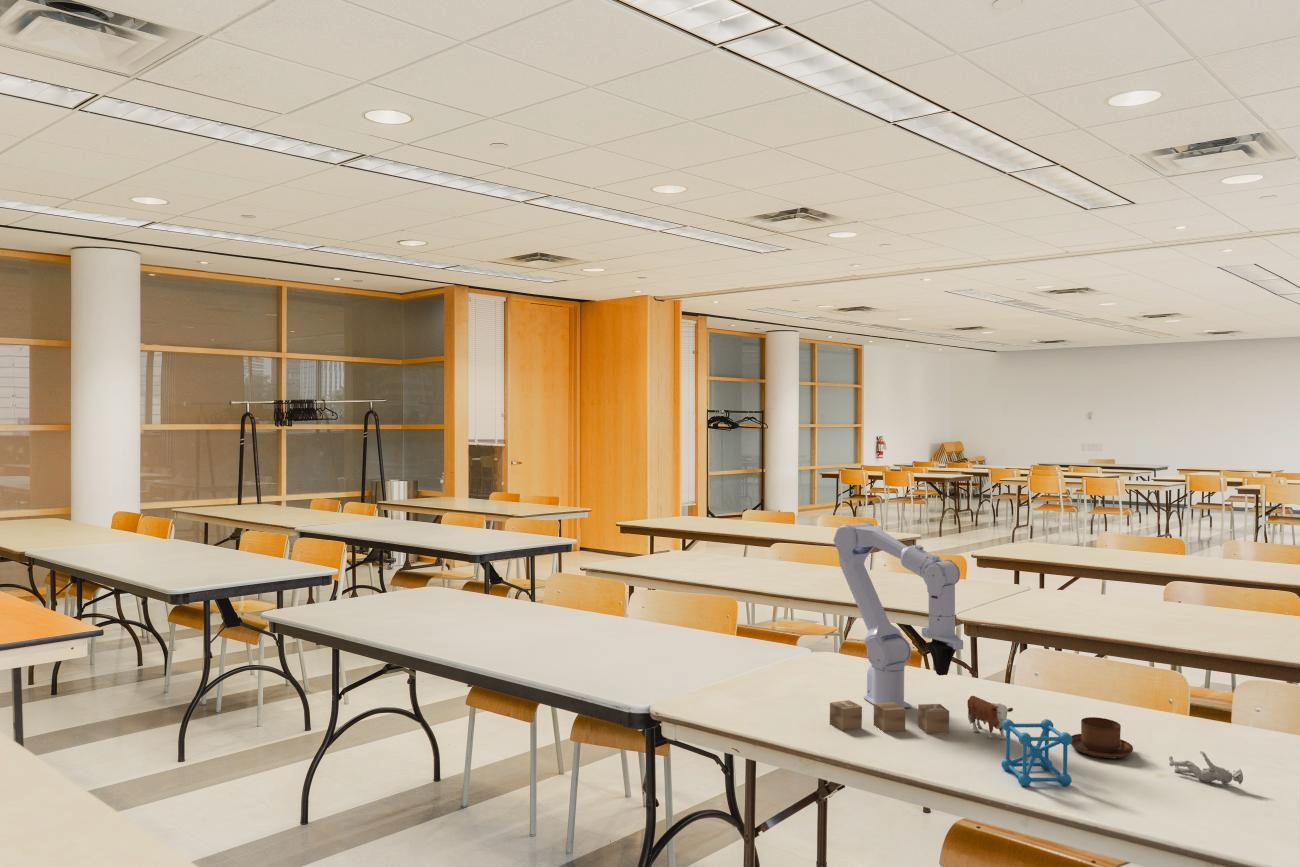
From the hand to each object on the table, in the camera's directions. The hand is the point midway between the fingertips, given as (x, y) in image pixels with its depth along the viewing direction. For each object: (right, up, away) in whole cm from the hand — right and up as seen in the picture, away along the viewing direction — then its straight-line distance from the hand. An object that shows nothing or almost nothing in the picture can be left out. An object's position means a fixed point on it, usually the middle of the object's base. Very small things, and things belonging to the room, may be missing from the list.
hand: (941, 674), depth 215 cm
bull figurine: (+7, -11, -10) cm, 16 cm away
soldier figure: (+39, -12, -34) cm, 54 cm away
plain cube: (-13, -11, -6) cm, 18 cm away
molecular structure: (+8, -12, -34) cm, 36 cm away
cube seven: (-4, -11, -6) cm, 13 cm away
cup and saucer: (+27, -11, -19) cm, 35 cm away
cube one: (-23, -11, -5) cm, 25 cm away
